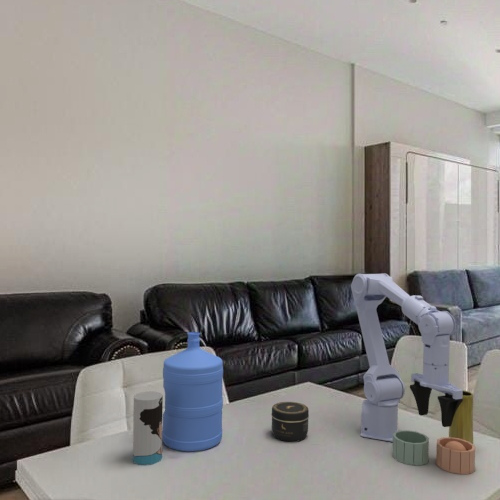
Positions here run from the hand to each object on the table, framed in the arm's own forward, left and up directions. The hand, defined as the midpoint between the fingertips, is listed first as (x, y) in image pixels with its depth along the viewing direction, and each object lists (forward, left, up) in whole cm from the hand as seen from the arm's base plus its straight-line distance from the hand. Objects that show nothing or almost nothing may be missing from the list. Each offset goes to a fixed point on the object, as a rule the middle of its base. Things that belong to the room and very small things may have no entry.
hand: (434, 420), depth 113 cm
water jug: (-58, -13, -11) cm, 61 cm away
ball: (+5, +1, -7) cm, 9 cm away
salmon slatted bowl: (+5, +1, -10) cm, 11 cm away
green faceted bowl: (-5, +1, -10) cm, 12 cm away
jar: (-36, +1, -11) cm, 38 cm away
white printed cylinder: (-62, -27, -11) cm, 69 cm away
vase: (+6, +12, -11) cm, 17 cm away
